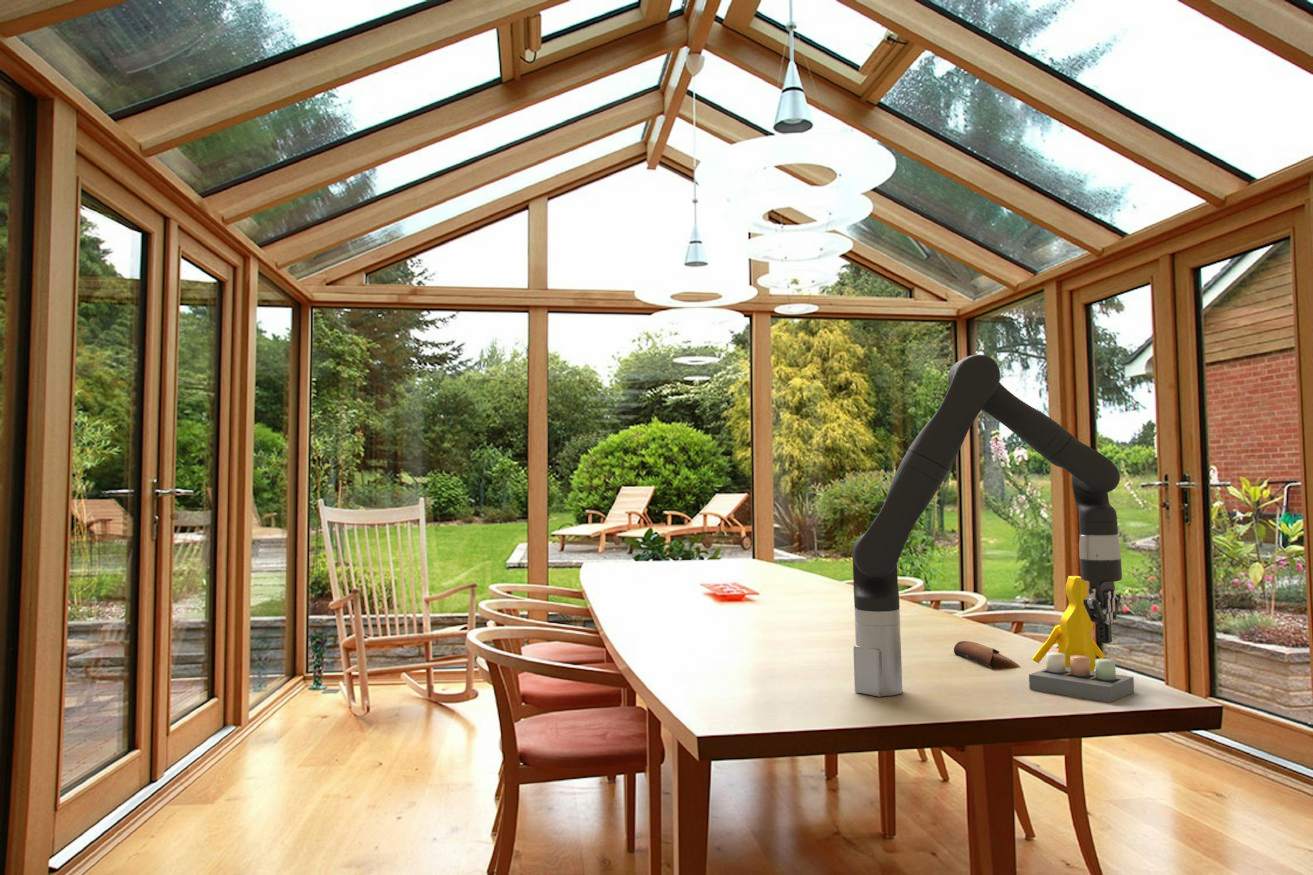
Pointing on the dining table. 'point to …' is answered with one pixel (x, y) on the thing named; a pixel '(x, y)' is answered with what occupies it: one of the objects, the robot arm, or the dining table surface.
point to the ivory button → (1055, 662)
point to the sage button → (1105, 669)
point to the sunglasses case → (984, 655)
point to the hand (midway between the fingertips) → (1105, 642)
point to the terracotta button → (1080, 665)
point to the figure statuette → (1073, 628)
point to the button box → (1081, 685)
